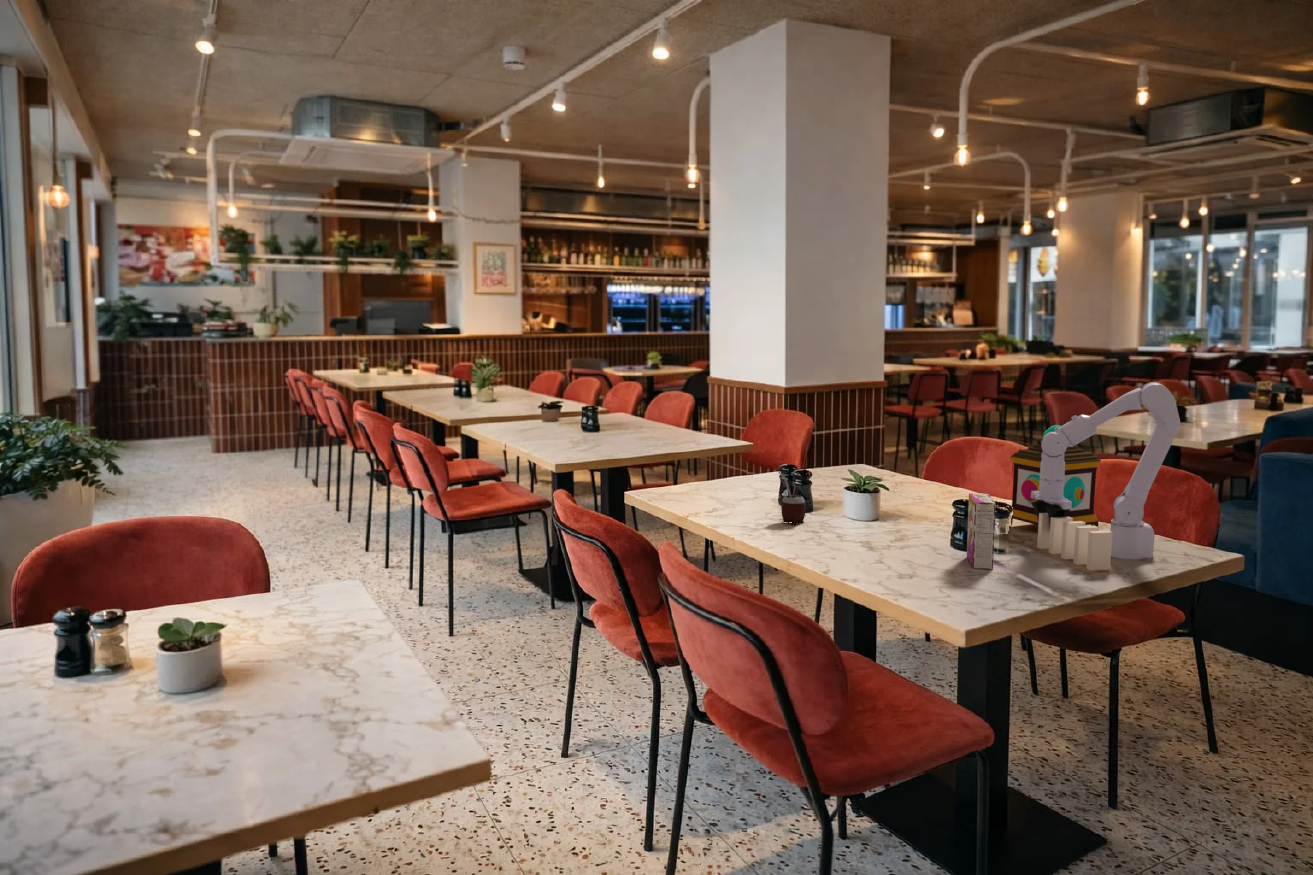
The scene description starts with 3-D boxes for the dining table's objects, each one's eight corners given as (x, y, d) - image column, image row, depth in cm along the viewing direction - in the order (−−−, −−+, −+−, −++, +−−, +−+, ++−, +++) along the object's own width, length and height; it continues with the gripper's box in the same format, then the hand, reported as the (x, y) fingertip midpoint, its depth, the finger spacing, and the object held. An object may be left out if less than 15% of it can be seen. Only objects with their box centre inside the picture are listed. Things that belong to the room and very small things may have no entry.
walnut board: (1056, 547, 232) (1056, 544, 232) (1123, 575, 206) (1124, 571, 206) (1025, 548, 230) (1025, 545, 230) (1088, 576, 205) (1088, 573, 205)
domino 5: (1086, 568, 209) (1088, 531, 208) (1105, 567, 210) (1108, 530, 209) (1090, 570, 207) (1093, 533, 206) (1110, 569, 208) (1112, 532, 207)
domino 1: (1037, 547, 229) (1039, 513, 227) (1055, 546, 229) (1057, 512, 228) (1040, 548, 227) (1042, 514, 226) (1058, 548, 228) (1060, 513, 226)
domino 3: (1060, 557, 219) (1062, 521, 218) (1079, 556, 220) (1081, 521, 218) (1064, 559, 217) (1066, 523, 216) (1083, 558, 218) (1085, 522, 217)
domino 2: (1048, 552, 224) (1050, 517, 222) (1066, 551, 224) (1068, 516, 223) (1052, 553, 222) (1054, 518, 221) (1070, 553, 223) (1072, 518, 222)
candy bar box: (965, 556, 223) (968, 492, 220) (986, 557, 222) (989, 493, 220) (971, 569, 212) (974, 501, 210) (993, 570, 211) (997, 502, 209)
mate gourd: (807, 526, 256) (808, 475, 254) (779, 526, 256) (780, 475, 254) (803, 520, 263) (804, 470, 261) (776, 520, 263) (777, 470, 261)
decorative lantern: (1053, 541, 238) (1060, 430, 234) (997, 525, 256) (1002, 422, 252) (1106, 533, 246) (1113, 426, 242) (1048, 519, 264) (1054, 419, 260)
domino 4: (1073, 562, 214) (1075, 526, 213) (1092, 562, 215) (1094, 525, 213) (1077, 564, 212) (1079, 528, 211) (1096, 563, 213) (1098, 527, 212)
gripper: (1021, 474, 232) (1018, 525, 234) (1054, 484, 218) (1051, 538, 220) (1046, 474, 233) (1043, 524, 235) (1080, 483, 219) (1077, 537, 221)
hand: (1049, 531), depth 228 cm, fingers open, 4 cm apart
